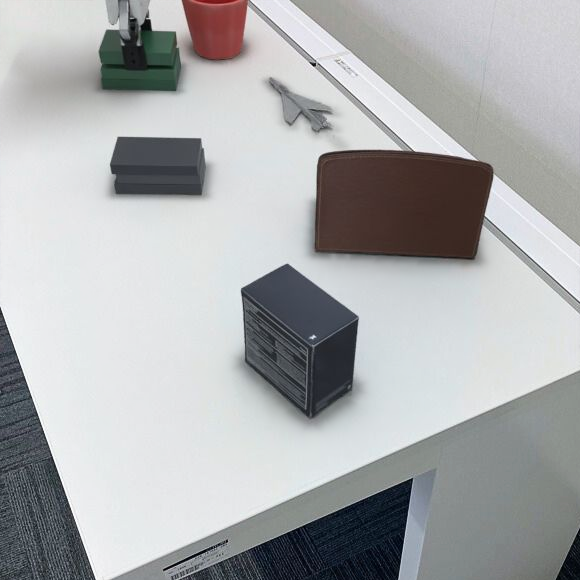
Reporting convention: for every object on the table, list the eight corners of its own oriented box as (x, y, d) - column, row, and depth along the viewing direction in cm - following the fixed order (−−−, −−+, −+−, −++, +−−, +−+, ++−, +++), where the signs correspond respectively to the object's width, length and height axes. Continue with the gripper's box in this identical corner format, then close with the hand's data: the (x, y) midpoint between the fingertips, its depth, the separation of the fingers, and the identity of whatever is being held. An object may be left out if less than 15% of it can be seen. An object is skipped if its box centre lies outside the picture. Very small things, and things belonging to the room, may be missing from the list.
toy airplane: (290, 75, 123) (290, 61, 121) (363, 139, 111) (364, 125, 109) (247, 86, 119) (247, 72, 118) (317, 153, 108) (318, 139, 106)
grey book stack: (115, 194, 99) (109, 164, 96) (123, 165, 104) (117, 136, 100) (201, 195, 100) (198, 166, 97) (205, 166, 104) (202, 137, 101)
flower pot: (251, 34, 131) (248, -25, 124) (250, 65, 124) (247, 5, 117) (188, 33, 130) (182, -27, 123) (183, 64, 123) (176, 3, 116)
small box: (357, 387, 79) (364, 315, 72) (310, 421, 76) (312, 349, 68) (289, 332, 84) (288, 258, 77) (242, 361, 81) (237, 288, 73)
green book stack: (102, 89, 117) (98, 69, 114) (110, 64, 122) (107, 45, 119) (176, 90, 117) (173, 71, 115) (181, 66, 123) (179, 47, 120)
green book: (100, 64, 114) (98, 51, 113) (108, 41, 119) (106, 29, 117) (172, 65, 115) (170, 53, 113) (177, 43, 120) (175, 31, 118)
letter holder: (476, 260, 94) (498, 161, 84) (313, 253, 93) (316, 152, 83) (467, 210, 101) (487, 113, 91) (316, 203, 100) (319, 104, 90)
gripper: (102, -93, 110) (123, 30, 123) (80, -45, 98) (105, 85, 111) (156, -91, 110) (171, 31, 123) (139, -43, 99) (158, 86, 112)
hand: (140, 56), depth 117 cm, fingers closed on green book, 7 cm apart
